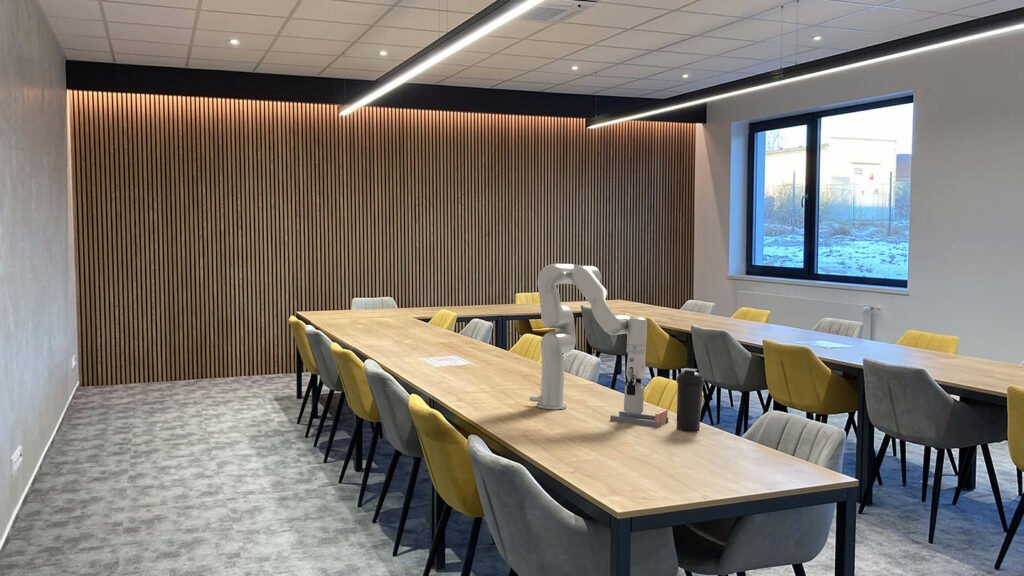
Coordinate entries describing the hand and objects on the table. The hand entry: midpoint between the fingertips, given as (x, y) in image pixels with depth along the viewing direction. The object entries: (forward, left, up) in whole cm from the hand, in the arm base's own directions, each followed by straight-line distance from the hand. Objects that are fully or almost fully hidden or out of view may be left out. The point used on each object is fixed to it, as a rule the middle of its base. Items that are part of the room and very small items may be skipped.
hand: (634, 393), depth 336 cm
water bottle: (+19, -12, -11) cm, 25 cm away
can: (0, 0, -8) cm, 8 cm away
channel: (+2, -1, -11) cm, 11 cm away
